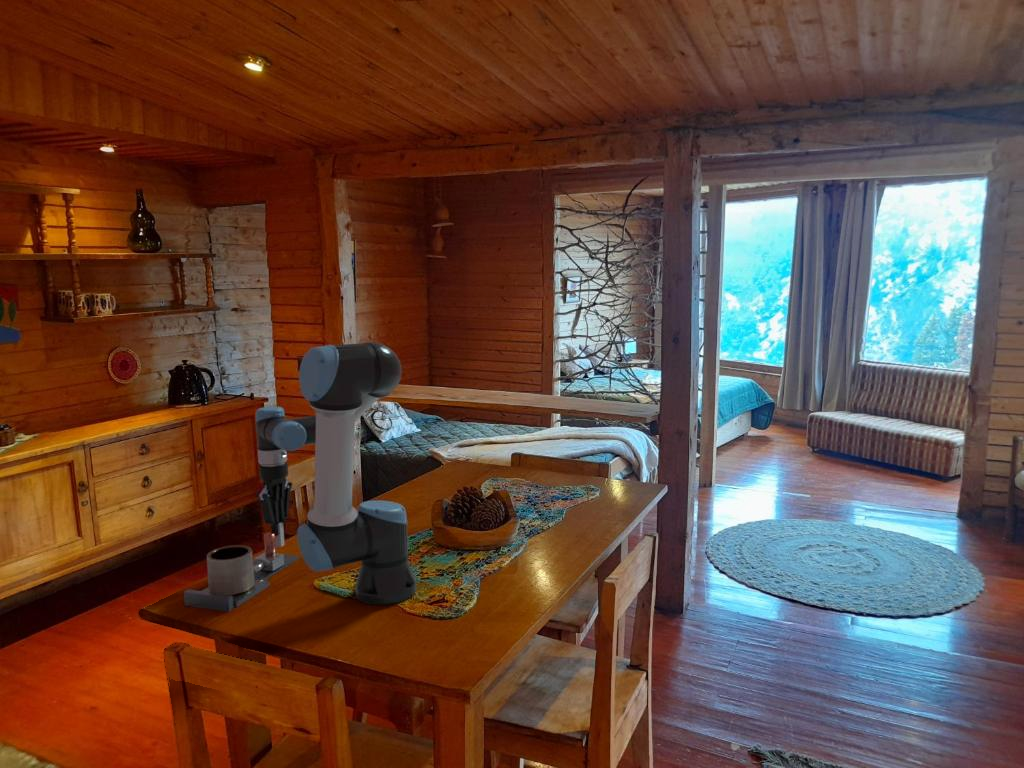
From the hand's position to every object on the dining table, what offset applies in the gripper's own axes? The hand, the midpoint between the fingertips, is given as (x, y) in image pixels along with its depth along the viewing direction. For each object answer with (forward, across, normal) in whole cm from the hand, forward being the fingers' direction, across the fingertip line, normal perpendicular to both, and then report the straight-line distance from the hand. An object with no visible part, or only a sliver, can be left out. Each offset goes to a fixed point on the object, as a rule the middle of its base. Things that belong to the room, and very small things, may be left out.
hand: (278, 545), depth 203 cm
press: (+5, -12, 0) cm, 13 cm away
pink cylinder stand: (+4, -7, 0) cm, 8 cm away
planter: (+4, -20, 0) cm, 20 cm away
